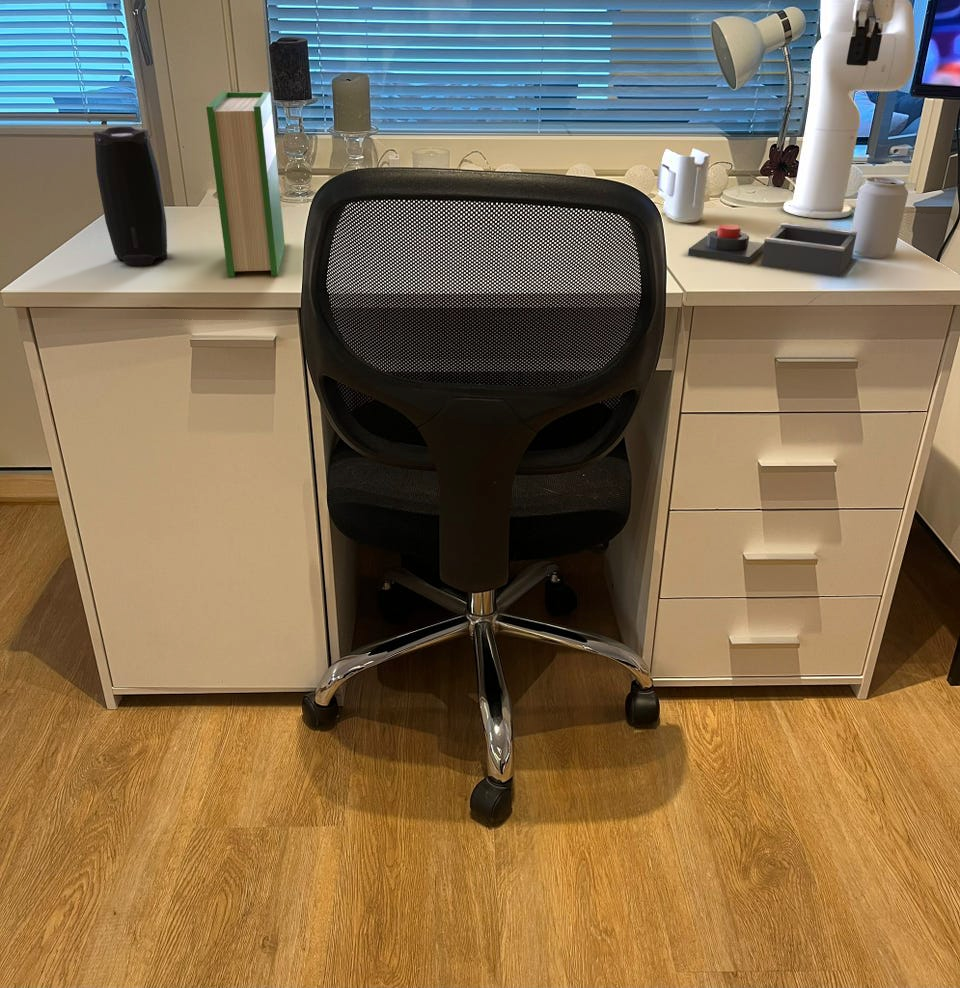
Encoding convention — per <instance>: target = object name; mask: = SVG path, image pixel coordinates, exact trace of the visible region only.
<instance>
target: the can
mask: <svg viewBox="0 0 960 988" xmlns="http://www.w3.org/2000/svg"><path fill="white" fill-rule="evenodd" d="M864 181H865V182H864V184H862V185H861V186H860V187H859V189H858V192H857V193H858V194H857V199H856V203H855V209H854V212H853V213H854V214H853V217H852V222H851V228H850V231H853V232H857V235H856V240H855V245H854V250H853V255H855V256H858V257H862V258H867V259H885V258H888V257H889V256H890V255H892V254H893V253H895V252H896V248H897V243H898V240H899V236H900V230H901V227H902V222H903V217H904V214H905V209H906V205H907V199H908V197H909V196H908V195H909V191H908V189H907V187H906V184H907V182H906V181H905V180H903V179H900V178H895V177H888V176H887V177H885V176H870V177H867V178H865V179H864Z"/></svg>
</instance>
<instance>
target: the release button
mask: <svg viewBox="0 0 960 988" xmlns="http://www.w3.org/2000/svg"><path fill="white" fill-rule="evenodd" d="M717 227H718V228H717V230H718V233H717V236H719V237H723V238H739V237H740V232H741V228H742V227H741V226H740V225H737V224H731V223H723V224H719V225H718V226H717Z"/></svg>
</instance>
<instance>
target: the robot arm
mask: <svg viewBox="0 0 960 988" xmlns="http://www.w3.org/2000/svg"><path fill="white" fill-rule="evenodd" d="M819 15H820V17H819V18H820V19H819V20H820V21H819V28H820V29H819V30H820V37H821V38H820V39H818V41H817V42H816V44H815V46H814V48H813V51H812V54H811V64H810V91H809V99H808V108H807V114H806V121H805V127H804V133H803V139H802V144H801V145H802V146H801V150H800V156H799V162H798V169H797V175H796V178H795V179H796V180H795V184H794V185H795V186H794V191H793V198H792V199H791V200H787V201H785V202H784V203H783V211H784V212H786V213H789V214H791V215H794V216H799V217H803V218H812V219H841V218H847V217H848V216H850V215H851V213H852V207H851V206H850V205H848V204H845V201H846V200H845V199H846V195H847V190H848V185H849V180H850V174H851V169H852V165H853V164H852V163H853V159H854V154H855V150H856V149H855V148H856V144H857V138H858V134H859V129H860V124H861V113H860V110H859V108H858V106H857V104H856V102H855V101H854V99H853V98H852V96H851V92H860V91H861V92H895V91H898V90H900V89H902V88H903V87H905V86H906V85H907V84H908V82H909V81H910V79H911V77H912V75H913V72H914V69H915V63H916V39H915V38H916V37H915V36H916V35H915V20H914V19H915V17H914V16H915V15H914V8H913V4H912V2H911V1H910V0H820V12H819Z"/></svg>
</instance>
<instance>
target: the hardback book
mask: <svg viewBox="0 0 960 988" xmlns="http://www.w3.org/2000/svg"><path fill="white" fill-rule="evenodd" d="M205 107H206V109H205V110H206V116H207V123H208V131H209V139H210V146H211V147H210V148H211V154H212V163H213V169H214V178H215V185H216V193H217V202H218V209H219V218H220V226H221V232H222V233H221V234H222V240H223V250H224V255H225V264H226V273H227V277H228V278H235V276H236V273H237V272H257V271H258V272H259V271H260V272H262V271H264V272H265V271H270V276H271V277H273V276H274V277H278V276H279V271H280V267H281V264H282V259H283V255H284V251H285V247H286V243H285V241H286V240H285V232H284V224H283V223H284V222H283V212H282V211H283V210H282V201H281V190H280V180H279V170H278V160H277V148H276V138H275V127H274V118H273V107H272V97H271V91H221V92H220V93H219V94H218V95H217V96H216V97H215V98H214V99H213V100H212V101H211V102H210V103H209V104H208V105H206V106H205Z"/></svg>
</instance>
